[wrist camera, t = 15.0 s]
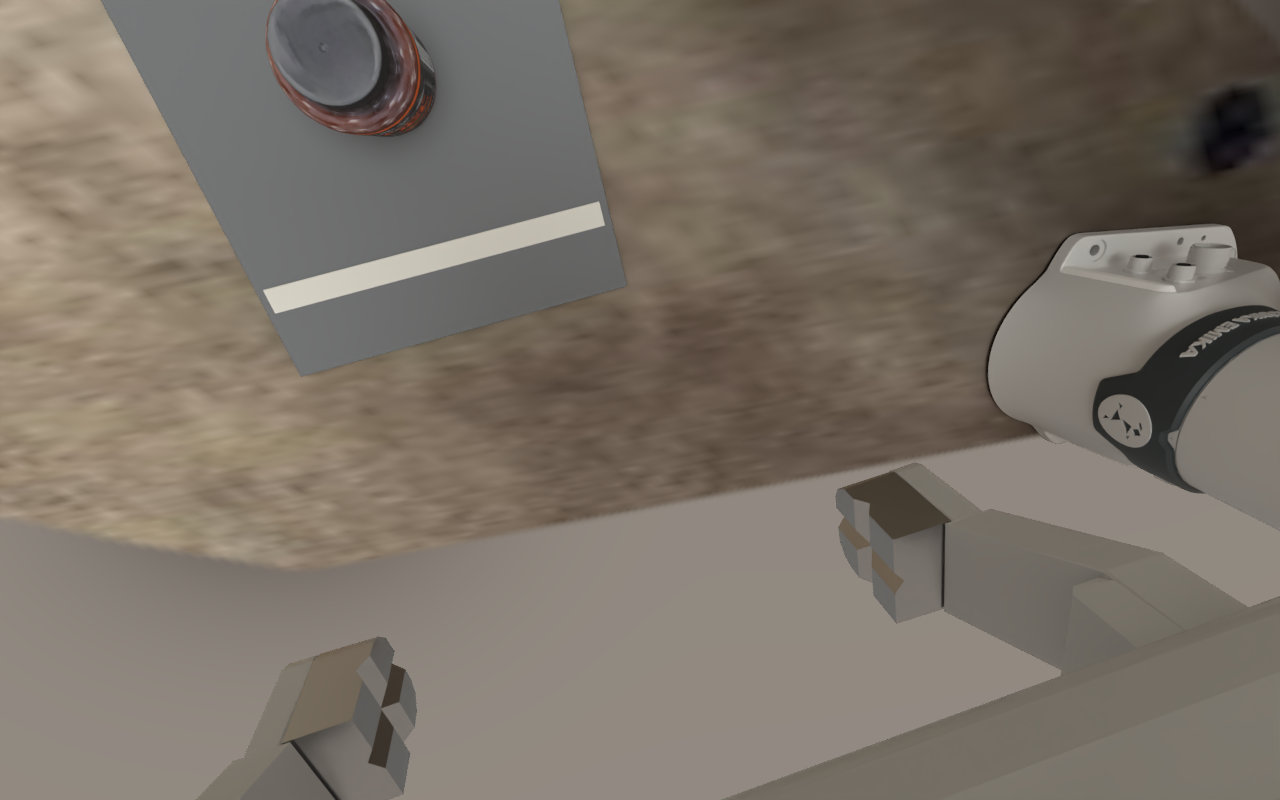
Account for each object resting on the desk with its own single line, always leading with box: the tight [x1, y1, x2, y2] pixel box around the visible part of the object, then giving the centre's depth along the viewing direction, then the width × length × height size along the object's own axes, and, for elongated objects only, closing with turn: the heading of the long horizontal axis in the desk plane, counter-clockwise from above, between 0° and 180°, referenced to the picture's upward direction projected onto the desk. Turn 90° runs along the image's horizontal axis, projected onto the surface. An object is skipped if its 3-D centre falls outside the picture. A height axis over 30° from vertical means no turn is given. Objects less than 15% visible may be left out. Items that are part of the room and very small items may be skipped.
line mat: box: [101, 0, 627, 377], centre depth 34 cm, size 22×22×1 cm
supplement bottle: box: [265, 0, 437, 137], centre depth 27 cm, size 6×6×11 cm
